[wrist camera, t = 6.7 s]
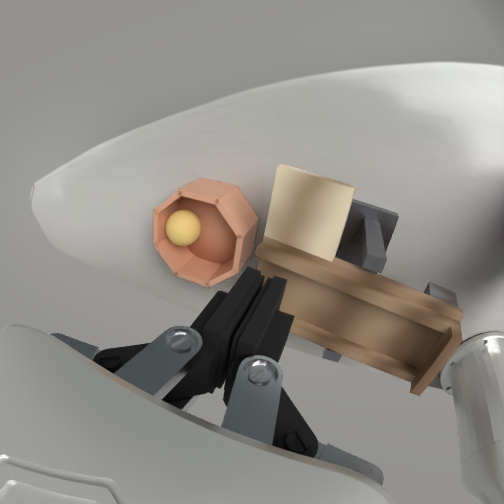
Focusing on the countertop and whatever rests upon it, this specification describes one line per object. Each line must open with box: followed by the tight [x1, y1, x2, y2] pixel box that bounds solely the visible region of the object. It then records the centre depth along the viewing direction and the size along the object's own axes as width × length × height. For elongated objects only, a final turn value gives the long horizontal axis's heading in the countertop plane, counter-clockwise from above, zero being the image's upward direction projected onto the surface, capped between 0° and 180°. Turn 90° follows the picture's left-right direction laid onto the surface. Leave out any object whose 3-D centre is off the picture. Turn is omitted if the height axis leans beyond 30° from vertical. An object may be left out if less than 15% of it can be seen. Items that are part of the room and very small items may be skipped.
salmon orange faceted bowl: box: [153, 178, 259, 287], centre depth 33 cm, size 10×10×5 cm
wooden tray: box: [255, 164, 463, 396], centre depth 23 cm, size 18×14×7 cm
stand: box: [323, 199, 399, 362], centre depth 28 cm, size 5×14×9 cm, turn 170°
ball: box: [165, 210, 201, 246], centre depth 33 cm, size 4×4×4 cm
